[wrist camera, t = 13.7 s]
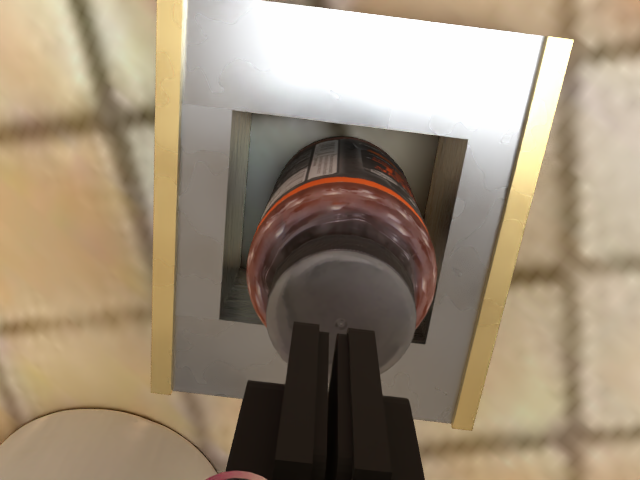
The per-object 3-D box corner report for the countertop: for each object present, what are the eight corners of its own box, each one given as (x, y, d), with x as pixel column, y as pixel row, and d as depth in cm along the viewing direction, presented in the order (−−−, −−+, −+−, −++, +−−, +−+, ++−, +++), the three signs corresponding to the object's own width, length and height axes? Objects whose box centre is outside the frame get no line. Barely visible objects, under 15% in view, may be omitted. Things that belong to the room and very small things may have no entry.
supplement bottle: (435, 210, 26) (503, 344, 15) (331, 285, 27) (325, 455, 17) (353, 103, 24) (363, 168, 14) (246, 189, 26) (180, 308, 15)
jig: (448, 358, 28) (472, 430, 23) (183, 327, 28) (150, 392, 23) (523, 35, 23) (573, 39, 18) (196, -6, 23) (157, -14, 18)
